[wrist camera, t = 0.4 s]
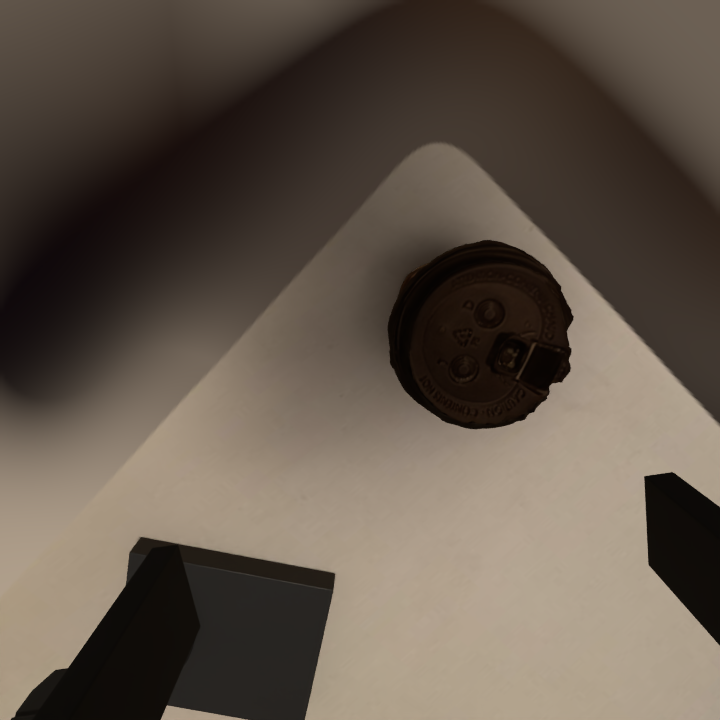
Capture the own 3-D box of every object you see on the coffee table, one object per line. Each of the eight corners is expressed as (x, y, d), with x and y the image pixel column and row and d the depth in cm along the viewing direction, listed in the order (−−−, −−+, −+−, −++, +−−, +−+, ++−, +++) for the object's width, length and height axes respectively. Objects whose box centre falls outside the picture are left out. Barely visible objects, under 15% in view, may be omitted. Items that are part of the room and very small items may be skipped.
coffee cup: (528, 334, 35) (621, 391, 22) (419, 391, 36) (449, 476, 23) (471, 218, 33) (535, 207, 20) (358, 282, 34) (354, 308, 22)
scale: (122, 675, 42) (101, 714, 39) (138, 536, 39) (116, 565, 35) (305, 708, 42) (299, 749, 39) (334, 573, 39) (332, 605, 36)
